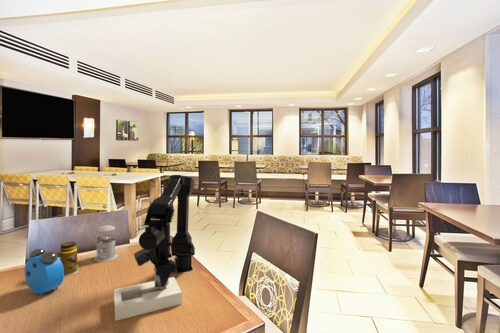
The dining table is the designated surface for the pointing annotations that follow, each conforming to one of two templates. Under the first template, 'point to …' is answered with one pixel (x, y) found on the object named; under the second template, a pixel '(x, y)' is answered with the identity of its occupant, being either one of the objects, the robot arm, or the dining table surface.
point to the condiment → (69, 258)
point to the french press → (105, 243)
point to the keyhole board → (145, 298)
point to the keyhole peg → (157, 282)
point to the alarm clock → (43, 271)
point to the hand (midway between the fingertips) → (161, 283)
